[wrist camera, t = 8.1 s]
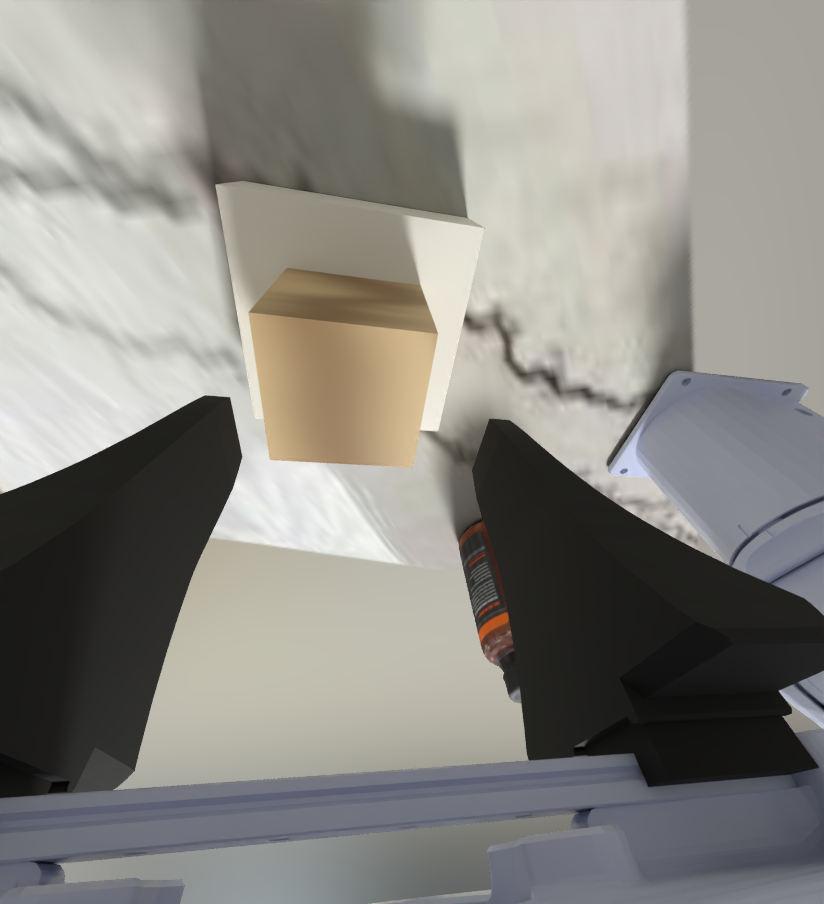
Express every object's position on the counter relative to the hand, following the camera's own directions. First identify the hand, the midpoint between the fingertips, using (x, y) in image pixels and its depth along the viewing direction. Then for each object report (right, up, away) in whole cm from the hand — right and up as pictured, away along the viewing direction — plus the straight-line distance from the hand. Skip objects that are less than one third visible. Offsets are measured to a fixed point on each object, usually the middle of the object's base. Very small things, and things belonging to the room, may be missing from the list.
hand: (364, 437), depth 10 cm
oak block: (-1, +4, +5) cm, 6 cm away
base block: (-1, +6, +7) cm, 9 cm away
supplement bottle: (+8, -7, +19) cm, 22 cm away
